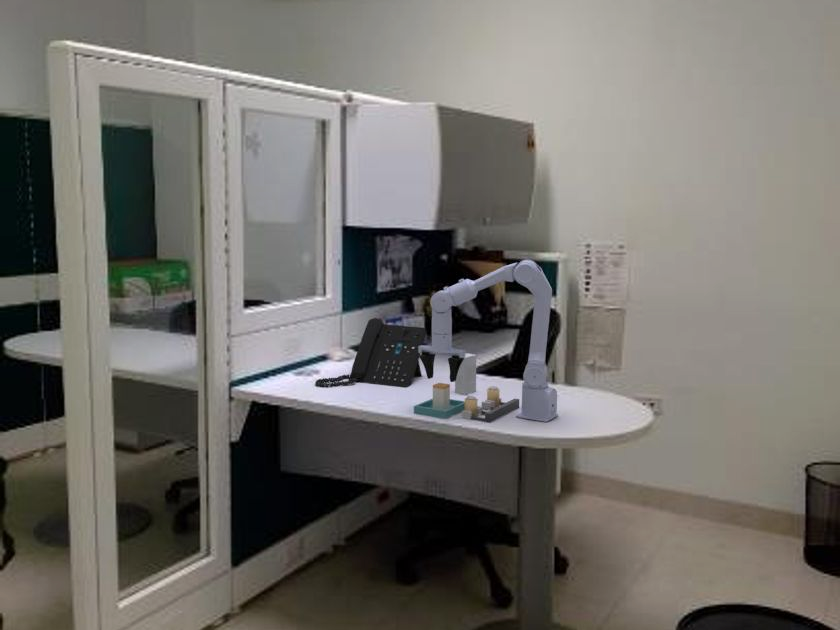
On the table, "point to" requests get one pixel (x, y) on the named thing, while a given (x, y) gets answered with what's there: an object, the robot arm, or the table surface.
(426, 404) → the tray
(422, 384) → the table surface
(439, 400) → the block
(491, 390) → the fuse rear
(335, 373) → the table surface
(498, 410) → the holder block
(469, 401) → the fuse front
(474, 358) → the skincare box
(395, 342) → the office phone
